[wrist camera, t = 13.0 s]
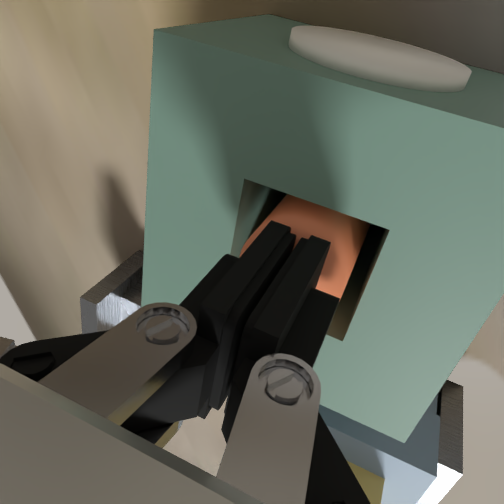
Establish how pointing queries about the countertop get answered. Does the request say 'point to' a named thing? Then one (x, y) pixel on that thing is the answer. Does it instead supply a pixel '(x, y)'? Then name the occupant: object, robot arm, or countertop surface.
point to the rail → (129, 300)
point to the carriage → (389, 456)
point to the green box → (336, 189)
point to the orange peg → (322, 237)
